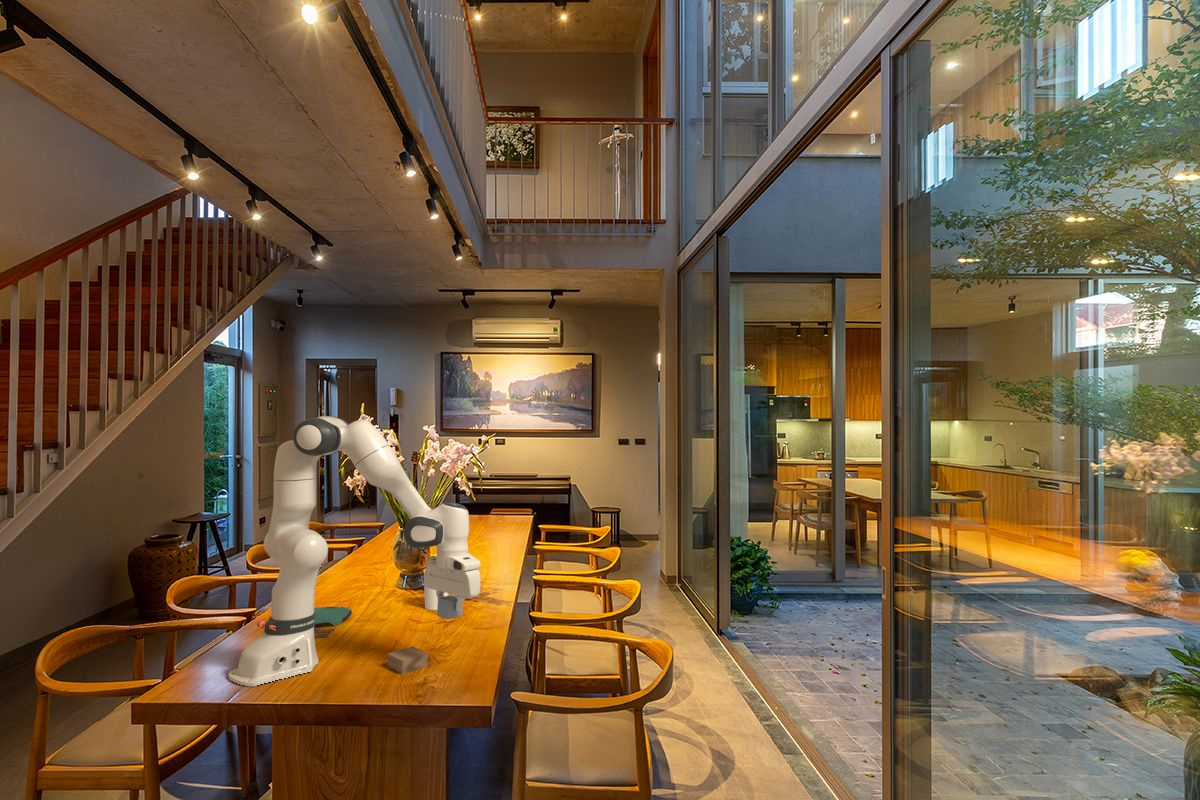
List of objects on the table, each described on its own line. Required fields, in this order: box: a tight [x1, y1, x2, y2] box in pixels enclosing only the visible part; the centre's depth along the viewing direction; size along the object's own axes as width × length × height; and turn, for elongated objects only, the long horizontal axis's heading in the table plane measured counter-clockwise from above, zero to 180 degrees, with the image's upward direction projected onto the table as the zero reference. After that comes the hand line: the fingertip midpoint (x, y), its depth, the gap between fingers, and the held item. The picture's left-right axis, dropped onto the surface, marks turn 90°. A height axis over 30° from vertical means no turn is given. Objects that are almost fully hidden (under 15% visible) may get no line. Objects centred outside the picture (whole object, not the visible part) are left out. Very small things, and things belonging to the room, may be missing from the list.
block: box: [436, 594, 464, 620], centre depth 179 cm, size 5×5×5 cm
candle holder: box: [423, 585, 450, 611], centre depth 236 cm, size 10×10×12 cm
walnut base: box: [386, 646, 429, 675], centre depth 178 cm, size 8×8×4 cm
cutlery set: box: [314, 606, 353, 638], centre depth 214 cm, size 20×30×2 cm, turn 7°
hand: (449, 608), depth 179 cm, fingers closed on block, 5 cm apart
